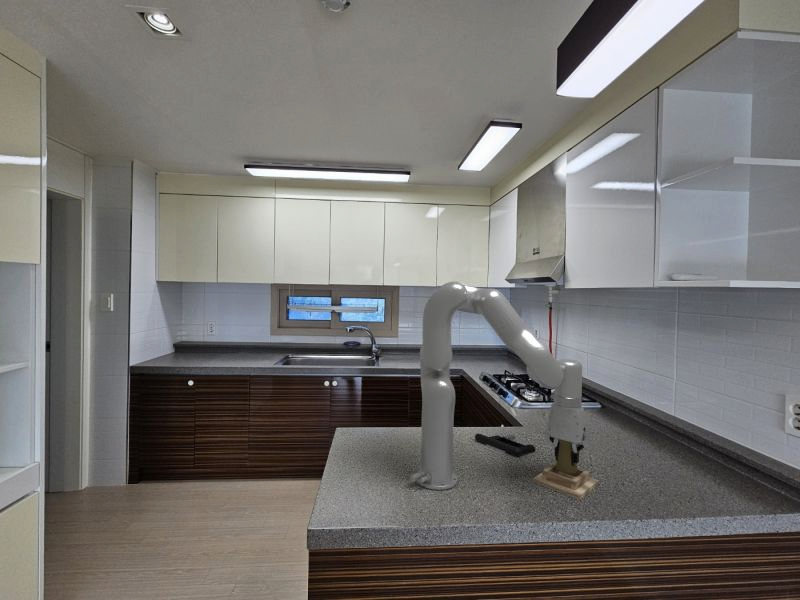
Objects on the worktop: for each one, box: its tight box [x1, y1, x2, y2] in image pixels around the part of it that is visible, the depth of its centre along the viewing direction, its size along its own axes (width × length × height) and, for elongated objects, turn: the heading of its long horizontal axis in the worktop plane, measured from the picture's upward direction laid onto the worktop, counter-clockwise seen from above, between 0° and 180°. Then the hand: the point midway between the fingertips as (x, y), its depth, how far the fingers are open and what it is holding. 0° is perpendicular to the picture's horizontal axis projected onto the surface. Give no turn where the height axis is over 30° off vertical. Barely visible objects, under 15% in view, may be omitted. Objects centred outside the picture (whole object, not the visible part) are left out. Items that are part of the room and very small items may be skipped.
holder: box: [532, 462, 600, 501], centre depth 122 cm, size 14×14×4 cm
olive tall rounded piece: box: [555, 439, 578, 473], centre depth 121 cm, size 6×6×11 cm
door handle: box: [474, 432, 536, 458], centre depth 152 cm, size 3×20×16 cm
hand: (566, 461), depth 122 cm, fingers closed on olive tall rounded piece, 4 cm apart
